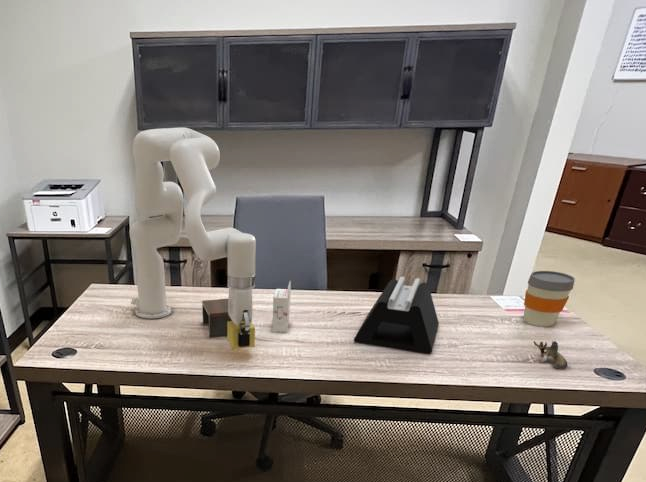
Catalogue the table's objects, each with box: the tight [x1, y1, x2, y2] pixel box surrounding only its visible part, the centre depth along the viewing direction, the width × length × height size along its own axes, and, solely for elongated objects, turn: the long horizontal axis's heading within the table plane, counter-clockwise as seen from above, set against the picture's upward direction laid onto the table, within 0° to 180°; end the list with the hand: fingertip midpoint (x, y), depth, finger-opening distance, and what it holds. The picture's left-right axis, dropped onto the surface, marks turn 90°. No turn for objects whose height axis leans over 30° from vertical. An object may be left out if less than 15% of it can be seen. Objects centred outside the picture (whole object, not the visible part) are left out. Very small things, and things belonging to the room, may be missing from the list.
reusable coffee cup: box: [523, 270, 576, 328], centre depth 170 cm, size 13×13×15 cm
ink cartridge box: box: [271, 280, 292, 333], centre depth 169 cm, size 9×5×15 cm, turn 168°
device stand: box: [353, 276, 440, 355], centre depth 163 cm, size 22×22×15 cm
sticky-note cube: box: [226, 321, 256, 350], centre depth 153 cm, size 6×6×6 cm
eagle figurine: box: [533, 339, 568, 370], centre depth 147 cm, size 8×7×9 cm
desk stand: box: [201, 297, 232, 339], centre depth 171 cm, size 12×12×8 cm
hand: (240, 340), depth 154 cm, fingers closed on sticky-note cube, 6 cm apart
